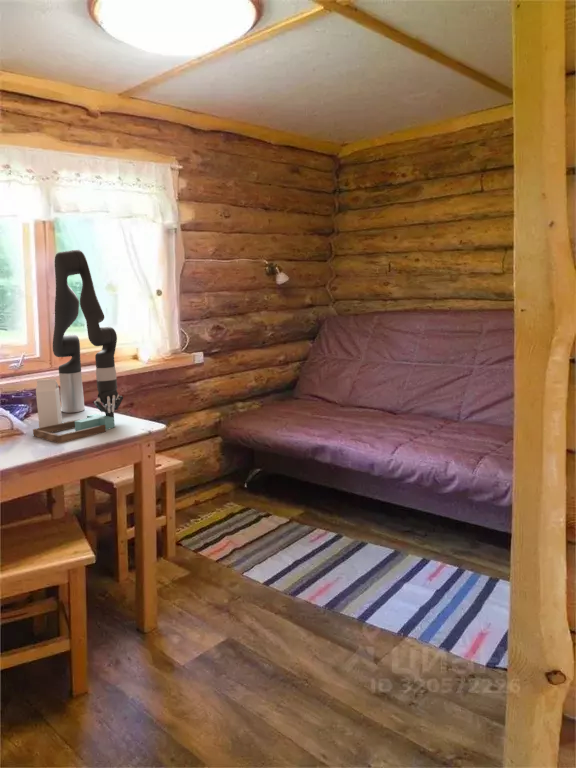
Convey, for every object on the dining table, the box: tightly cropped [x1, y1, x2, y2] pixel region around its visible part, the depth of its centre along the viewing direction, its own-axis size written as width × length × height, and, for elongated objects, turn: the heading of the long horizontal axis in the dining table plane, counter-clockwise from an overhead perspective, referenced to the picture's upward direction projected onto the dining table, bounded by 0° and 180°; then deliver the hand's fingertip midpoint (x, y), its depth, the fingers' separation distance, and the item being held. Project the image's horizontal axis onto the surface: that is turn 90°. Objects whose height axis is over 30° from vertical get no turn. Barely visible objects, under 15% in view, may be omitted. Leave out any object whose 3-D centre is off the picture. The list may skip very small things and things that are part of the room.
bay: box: [32, 418, 107, 444], centre depth 224 cm, size 17×19×2 cm
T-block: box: [74, 413, 116, 432], centre depth 231 cm, size 12×12×4 cm
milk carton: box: [35, 378, 63, 428], centre depth 234 cm, size 7×7×19 cm
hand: (110, 421), depth 237 cm, fingers closed
